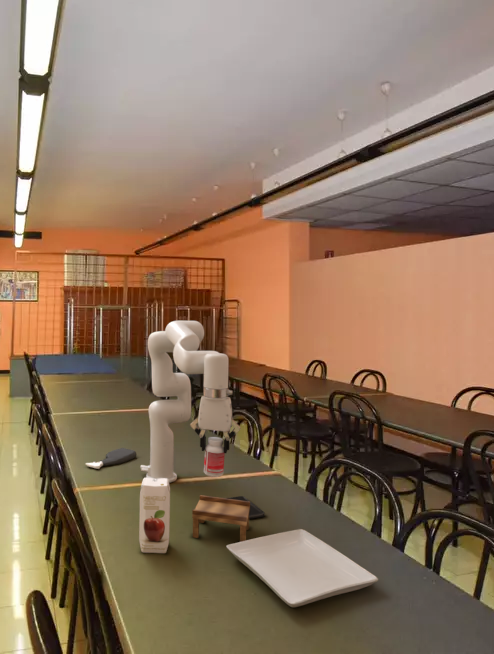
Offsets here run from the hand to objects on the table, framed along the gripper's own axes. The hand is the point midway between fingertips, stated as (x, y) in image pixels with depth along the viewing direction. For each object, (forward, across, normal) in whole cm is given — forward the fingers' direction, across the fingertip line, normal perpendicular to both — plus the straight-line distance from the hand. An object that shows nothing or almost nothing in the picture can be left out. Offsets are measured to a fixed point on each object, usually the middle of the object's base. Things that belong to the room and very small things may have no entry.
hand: (214, 450), depth 139 cm
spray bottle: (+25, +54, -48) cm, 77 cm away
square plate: (+25, -25, +17) cm, 39 cm away
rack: (+25, -3, +1) cm, 25 cm away
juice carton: (+25, +14, +16) cm, 33 cm away
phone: (+25, -8, -18) cm, 31 cm away
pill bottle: (+8, 0, -1) cm, 8 cm away
